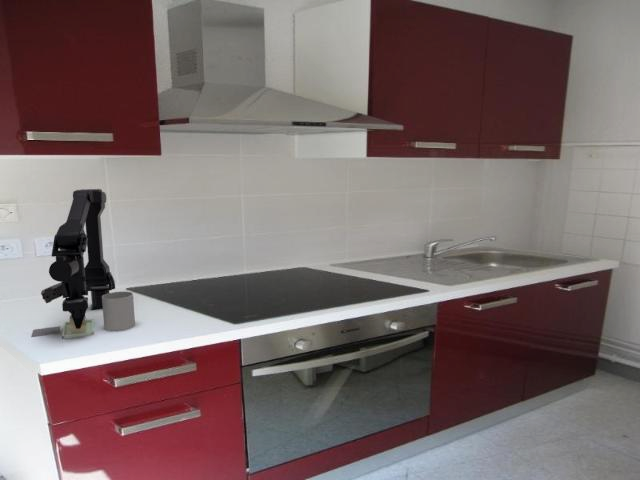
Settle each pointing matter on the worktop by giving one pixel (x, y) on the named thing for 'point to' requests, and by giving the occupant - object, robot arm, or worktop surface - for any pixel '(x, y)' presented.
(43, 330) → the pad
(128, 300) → the cup
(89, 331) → the tray
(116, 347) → the worktop surface
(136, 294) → the worktop surface
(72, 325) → the letter cube
